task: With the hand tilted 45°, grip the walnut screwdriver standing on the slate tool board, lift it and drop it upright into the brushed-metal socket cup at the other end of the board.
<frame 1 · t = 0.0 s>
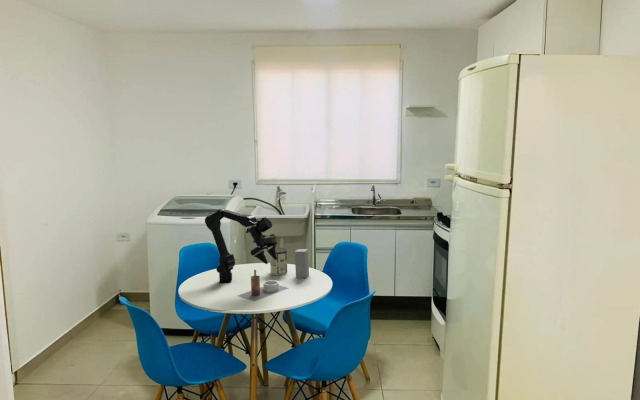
hand: (271, 261, 236), 15 cm above the table, tool tilted 35°, fingers open, 9 cm apart
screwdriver: (255, 294, 226), point 1 cm above the table, touching tool board
tool board: (263, 293, 230), on the table
coffee can: (278, 273, 267), on the table
skincare box: (302, 276, 260), on the table
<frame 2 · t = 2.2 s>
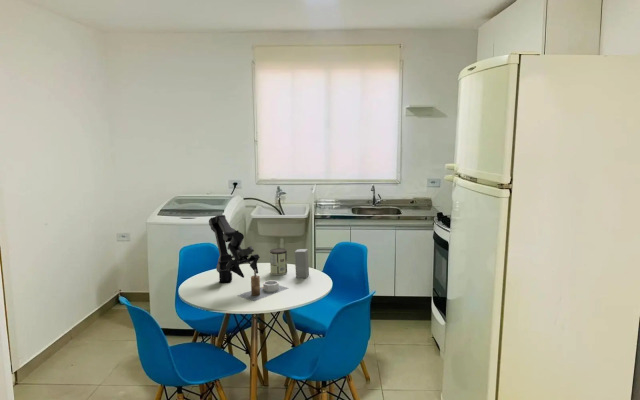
hand: (250, 275, 227), 11 cm above the table, tool tilted 45°, fingers open, 9 cm apart
nothing on the table moved.
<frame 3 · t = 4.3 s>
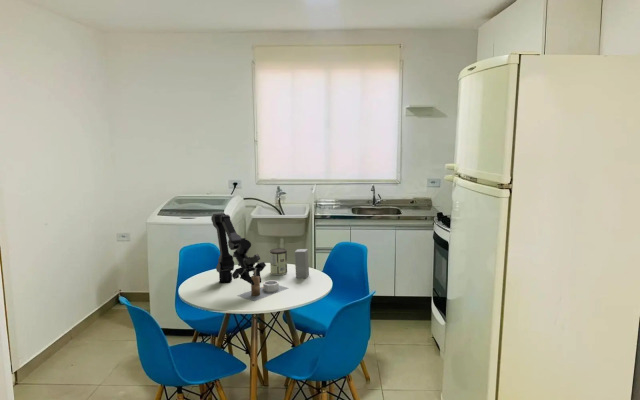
hand: (257, 283, 224), 7 cm above the table, tool tilted 45°, fingers closed on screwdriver, 4 cm apart
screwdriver: (255, 294, 226), point 1 cm above the table, touching gripper, tool board
everything else where it was.
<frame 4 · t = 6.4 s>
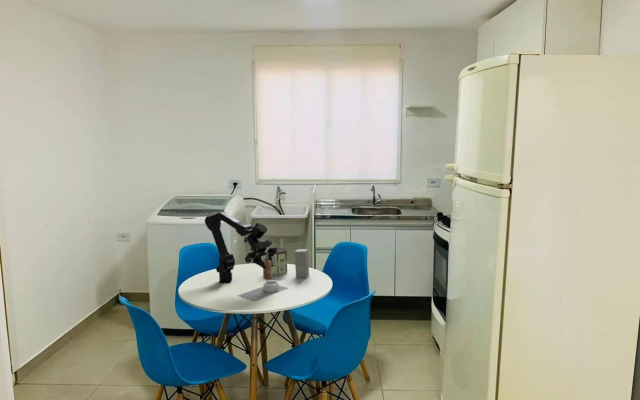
hand: (269, 267, 230), 14 cm above the table, tool tilted 45°, fingers closed on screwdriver, 4 cm apart
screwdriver: (267, 278, 231), point 7 cm above the table, touching gripper
everything else where it was.
when the fingers open (9 cm above the table, at t = 8.4 s): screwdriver drops 2 cm, resting on tool board.
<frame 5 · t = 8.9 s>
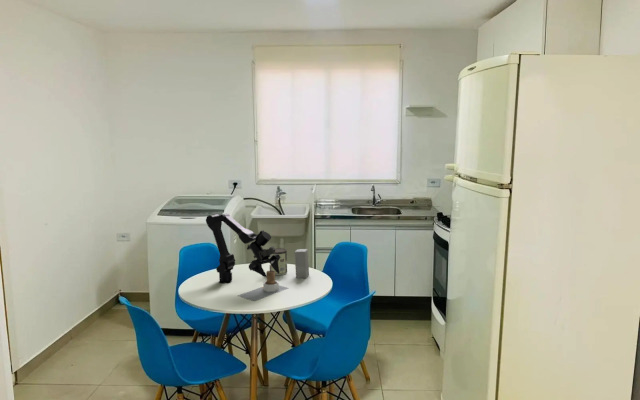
hand: (272, 274, 232), 9 cm above the table, tool tilted 45°, fingers open, 9 cm apart
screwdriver: (271, 289, 234), point 1 cm above the table, touching tool board
everything else where it was.
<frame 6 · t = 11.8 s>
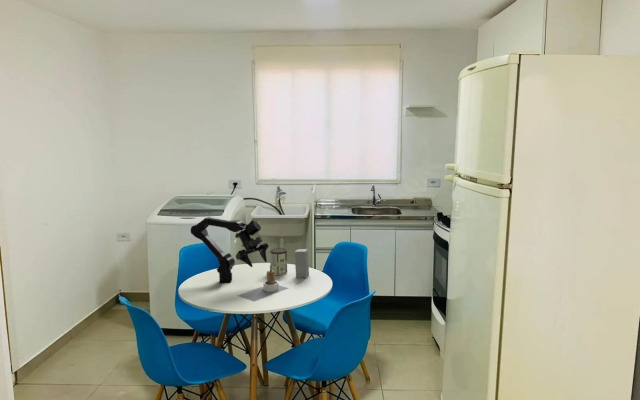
hand: (259, 264, 238), 13 cm above the table, tool tilted 40°, fingers open, 9 cm apart
nothing on the table moved.
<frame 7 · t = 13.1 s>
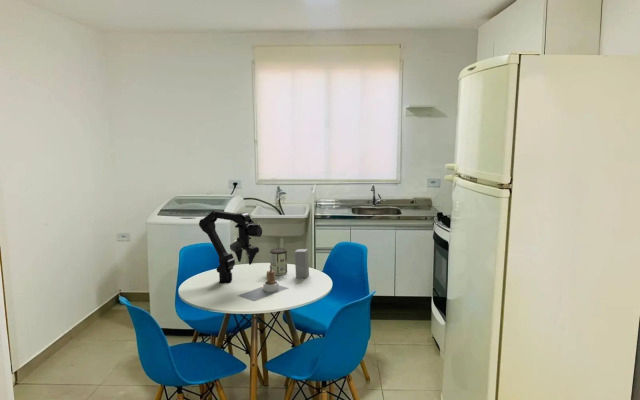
hand: (244, 263, 245), 12 cm above the table, tool pointing down, fingers open, 9 cm apart
nothing on the table moved.
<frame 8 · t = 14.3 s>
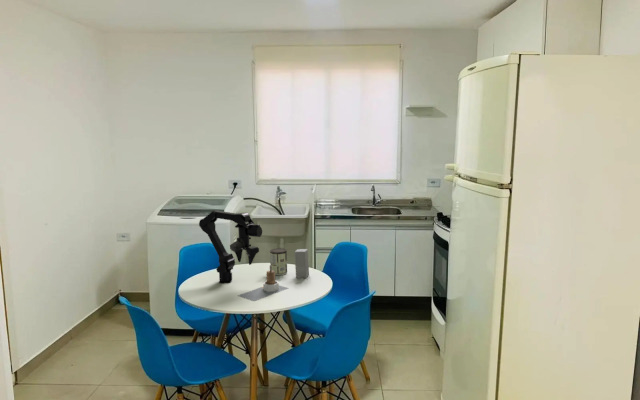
hand: (244, 263, 245), 12 cm above the table, tool pointing down, fingers open, 9 cm apart
nothing on the table moved.
at the end: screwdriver 0.0 cm from the target spot, point 1.0 cm above the table; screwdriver tilted 1°; the gripper is holding nothing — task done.
